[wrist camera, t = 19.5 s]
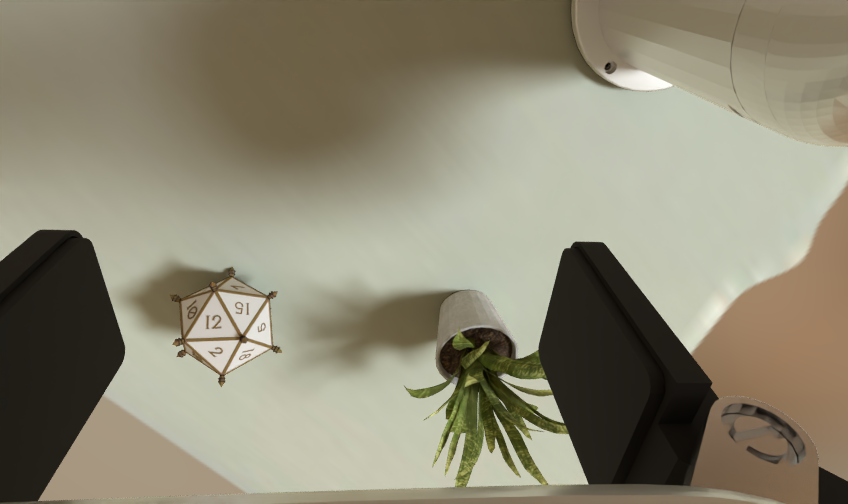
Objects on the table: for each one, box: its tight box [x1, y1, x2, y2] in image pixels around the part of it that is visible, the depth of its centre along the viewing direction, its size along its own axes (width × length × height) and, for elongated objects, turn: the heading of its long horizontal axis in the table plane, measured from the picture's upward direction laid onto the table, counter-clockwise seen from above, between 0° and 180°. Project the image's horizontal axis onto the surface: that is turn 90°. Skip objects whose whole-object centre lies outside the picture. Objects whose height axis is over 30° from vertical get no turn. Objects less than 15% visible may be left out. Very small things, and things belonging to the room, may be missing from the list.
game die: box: [170, 267, 282, 387], centre depth 41 cm, size 9×8×10 cm
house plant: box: [404, 290, 569, 487], centre depth 41 cm, size 14×14×16 cm
